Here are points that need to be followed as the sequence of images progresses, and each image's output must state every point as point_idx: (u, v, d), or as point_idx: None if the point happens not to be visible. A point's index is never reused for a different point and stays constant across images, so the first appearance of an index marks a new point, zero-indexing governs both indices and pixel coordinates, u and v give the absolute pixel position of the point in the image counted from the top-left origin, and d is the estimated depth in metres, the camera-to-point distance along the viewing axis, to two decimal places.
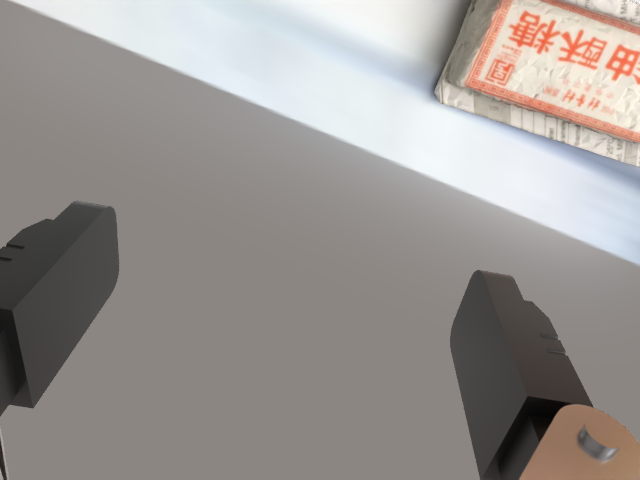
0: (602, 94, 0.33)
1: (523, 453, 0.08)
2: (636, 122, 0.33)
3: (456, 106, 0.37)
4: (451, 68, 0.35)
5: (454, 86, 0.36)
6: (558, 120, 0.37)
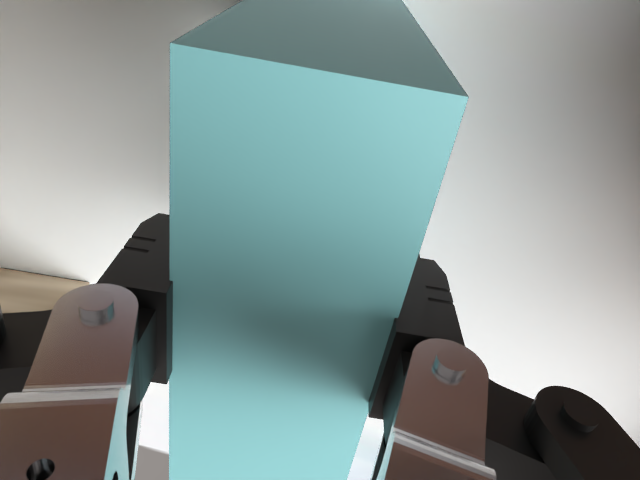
0: None
1: (394, 385, 0.09)
2: None
3: None
4: None
5: None
6: None
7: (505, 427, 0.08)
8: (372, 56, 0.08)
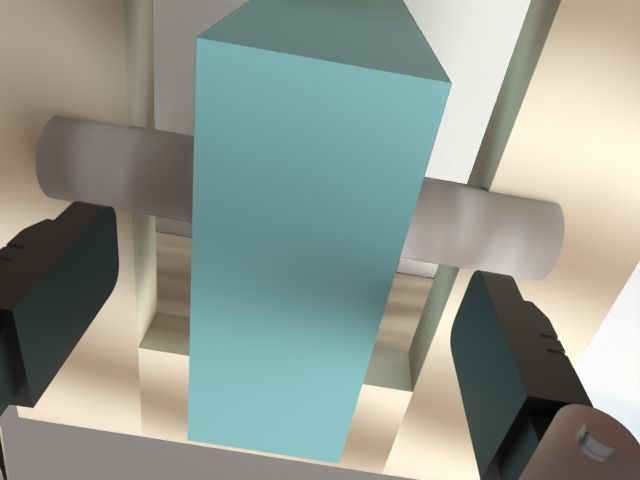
0: None
1: (523, 453, 0.08)
2: None
3: None
4: None
5: None
6: None
7: None
8: (370, 48, 0.09)
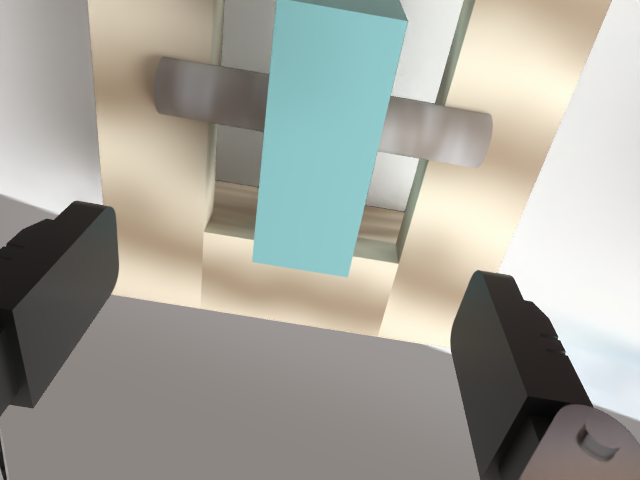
0: None
1: (523, 453, 0.08)
2: None
3: None
4: None
5: None
6: None
7: None
8: (366, 5, 0.16)
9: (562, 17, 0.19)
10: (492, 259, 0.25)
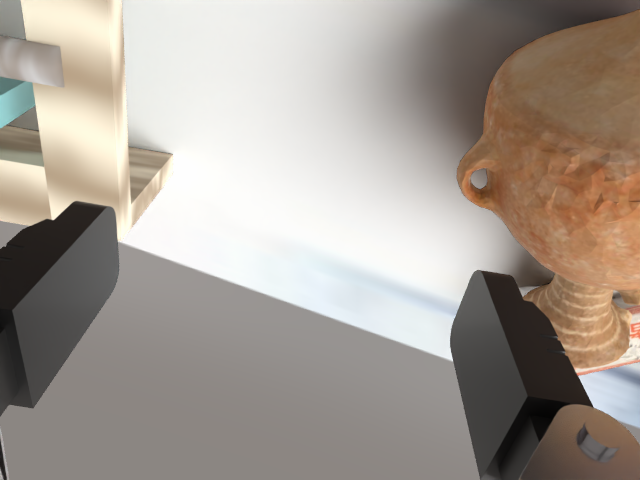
0: None
1: (523, 453, 0.08)
2: (638, 355, 0.49)
3: None
4: None
5: None
6: None
7: None
8: None
9: None
10: (109, 162, 0.33)
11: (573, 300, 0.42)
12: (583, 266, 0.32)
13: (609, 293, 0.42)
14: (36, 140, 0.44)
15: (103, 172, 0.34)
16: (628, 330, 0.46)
